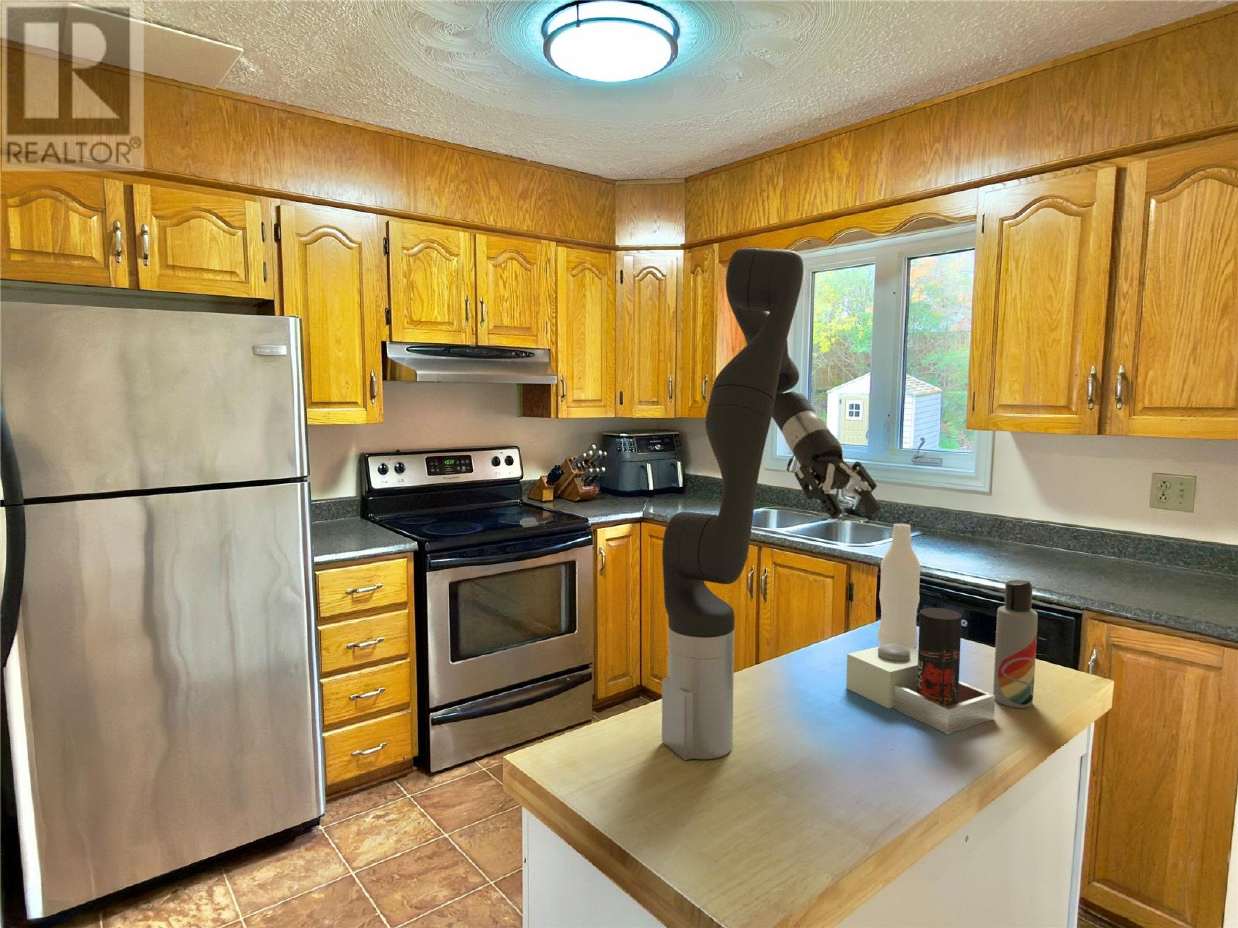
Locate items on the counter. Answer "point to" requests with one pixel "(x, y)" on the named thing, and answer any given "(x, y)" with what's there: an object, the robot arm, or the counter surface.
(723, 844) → the counter surface
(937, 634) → the deodorant
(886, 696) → the cream rectangular block
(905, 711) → the white open box
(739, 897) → the counter surface
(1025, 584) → the lotion bottle
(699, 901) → the counter surface
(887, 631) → the water bottle
